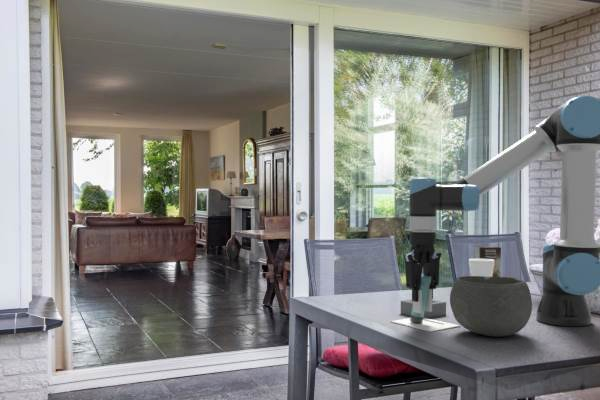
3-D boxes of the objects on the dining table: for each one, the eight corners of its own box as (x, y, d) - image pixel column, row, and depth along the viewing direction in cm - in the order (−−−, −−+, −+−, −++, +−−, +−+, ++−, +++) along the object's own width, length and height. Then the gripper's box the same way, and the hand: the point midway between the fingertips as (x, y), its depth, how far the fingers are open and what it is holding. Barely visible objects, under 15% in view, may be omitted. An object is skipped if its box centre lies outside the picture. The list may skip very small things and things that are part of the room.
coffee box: (479, 285, 255) (479, 247, 255) (474, 283, 262) (474, 246, 262) (501, 285, 256) (501, 247, 256) (495, 283, 262) (495, 246, 262)
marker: (425, 323, 178) (434, 278, 176) (416, 324, 176) (424, 279, 173) (416, 317, 182) (424, 273, 179) (407, 319, 179) (415, 274, 176)
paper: (460, 326, 175) (460, 325, 175) (431, 331, 168) (431, 330, 168) (419, 317, 188) (419, 316, 188) (390, 322, 181) (390, 320, 181)
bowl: (454, 342, 156) (454, 283, 156) (446, 325, 177) (446, 273, 177) (540, 345, 154) (540, 285, 153) (521, 327, 174) (521, 274, 174)
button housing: (446, 314, 192) (446, 302, 192) (423, 318, 186) (423, 305, 186) (422, 310, 200) (422, 297, 200) (400, 313, 195) (400, 300, 194)
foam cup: (463, 293, 235) (464, 259, 235) (476, 290, 241) (477, 258, 241) (486, 296, 228) (486, 261, 228) (498, 293, 234) (499, 259, 234)
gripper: (432, 229, 184) (432, 306, 185) (392, 231, 175) (392, 312, 175) (452, 230, 178) (451, 310, 178) (411, 232, 169) (411, 317, 169)
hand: (422, 311), depth 177 cm, fingers closed on marker, 3 cm apart
